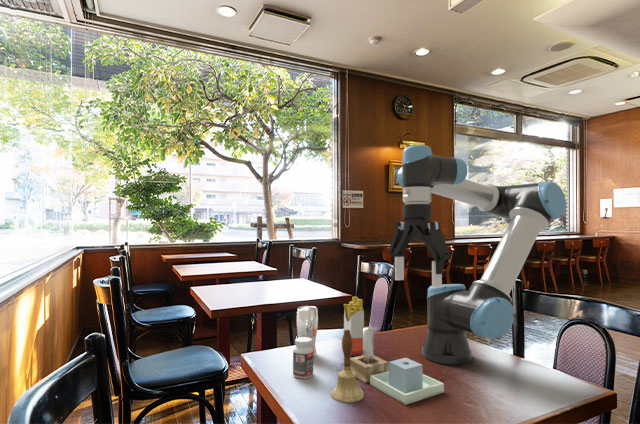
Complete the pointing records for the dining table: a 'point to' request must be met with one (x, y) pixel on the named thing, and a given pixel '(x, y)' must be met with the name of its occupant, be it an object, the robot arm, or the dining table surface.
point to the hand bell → (347, 376)
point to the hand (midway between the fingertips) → (417, 283)
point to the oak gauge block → (368, 367)
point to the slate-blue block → (406, 375)
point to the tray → (429, 389)
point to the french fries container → (355, 324)
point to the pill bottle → (303, 358)
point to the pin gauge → (368, 345)
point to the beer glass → (307, 323)
